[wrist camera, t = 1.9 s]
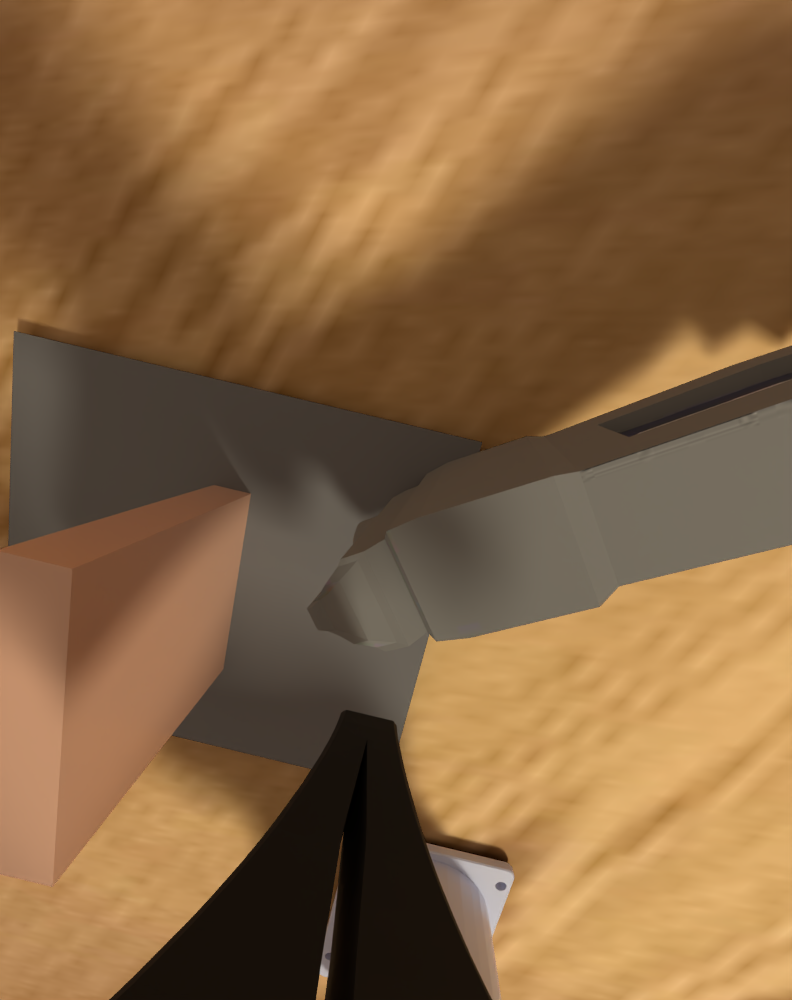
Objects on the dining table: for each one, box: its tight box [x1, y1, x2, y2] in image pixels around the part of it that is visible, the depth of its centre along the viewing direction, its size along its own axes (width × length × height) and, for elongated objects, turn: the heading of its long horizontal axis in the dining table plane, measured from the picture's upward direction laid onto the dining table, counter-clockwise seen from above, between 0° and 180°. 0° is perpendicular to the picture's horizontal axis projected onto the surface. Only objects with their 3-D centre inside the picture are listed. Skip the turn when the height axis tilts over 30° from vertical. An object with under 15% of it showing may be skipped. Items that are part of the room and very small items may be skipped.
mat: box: [8, 331, 482, 769], centre depth 16 cm, size 16×18×1 cm
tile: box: [0, 485, 251, 887], centre depth 12 cm, size 8×2×8 cm, turn 167°
